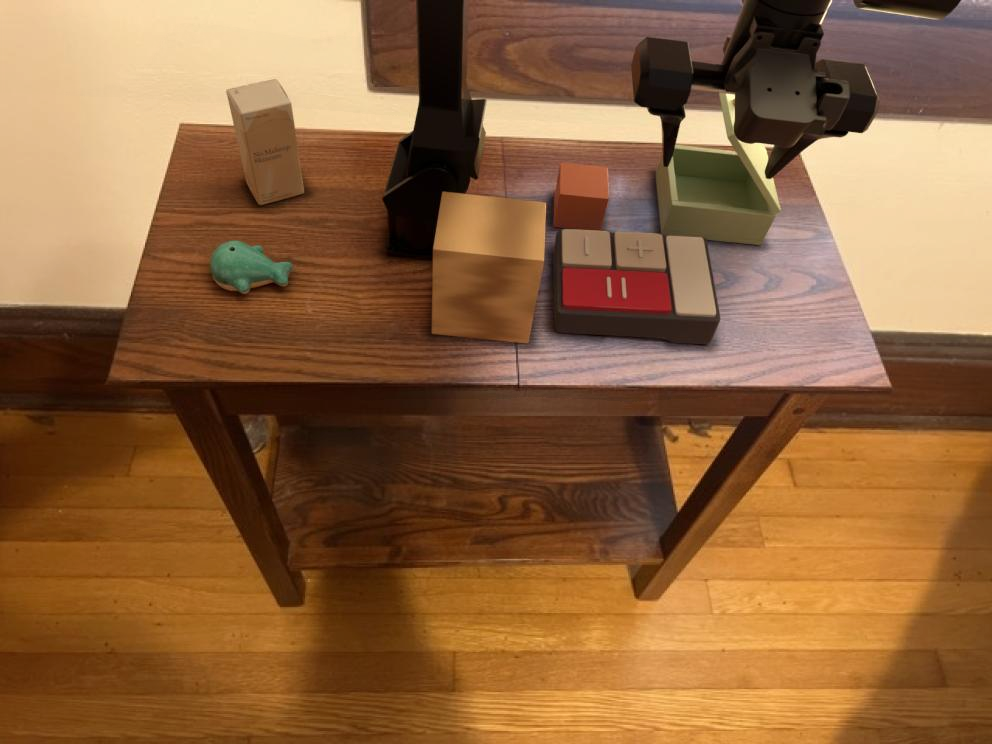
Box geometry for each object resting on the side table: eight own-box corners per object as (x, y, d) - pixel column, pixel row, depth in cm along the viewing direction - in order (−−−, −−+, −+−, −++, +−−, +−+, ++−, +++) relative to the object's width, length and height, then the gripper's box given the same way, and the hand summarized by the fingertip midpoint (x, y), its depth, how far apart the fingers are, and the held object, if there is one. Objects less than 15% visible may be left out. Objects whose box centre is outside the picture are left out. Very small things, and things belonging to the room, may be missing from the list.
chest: (661, 235, 78) (671, 204, 75) (655, 173, 84) (665, 143, 80) (760, 245, 78) (776, 216, 75) (748, 184, 84) (761, 154, 81)
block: (553, 226, 77) (559, 193, 74) (554, 195, 80) (560, 162, 77) (600, 231, 78) (608, 199, 74) (599, 200, 80) (607, 167, 77)
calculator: (557, 222, 72) (708, 230, 72) (552, 254, 76) (697, 261, 76) (557, 307, 66) (724, 316, 66) (553, 337, 69) (711, 345, 69)
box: (259, 207, 76) (236, 114, 67) (245, 181, 78) (221, 88, 69) (307, 193, 77) (292, 100, 68) (293, 168, 79) (276, 76, 70)
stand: (431, 334, 68) (432, 249, 59) (439, 278, 72) (442, 191, 63) (528, 343, 68) (544, 260, 59) (531, 288, 72) (546, 202, 63)
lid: (727, 137, 68) (778, 111, 65) (715, 75, 74) (761, 49, 71) (774, 214, 75) (822, 193, 72) (760, 152, 81) (804, 130, 78)
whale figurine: (226, 251, 72) (217, 222, 68) (300, 262, 72) (295, 233, 68) (205, 295, 68) (195, 267, 65) (283, 307, 68) (276, 279, 65)
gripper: (669, 40, 47) (615, 221, 60) (950, 75, 48) (838, 246, 61) (657, -43, 54) (611, 136, 66) (905, -11, 54) (812, 160, 67)
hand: (716, 170), depth 65 cm, fingers open, 9 cm apart
